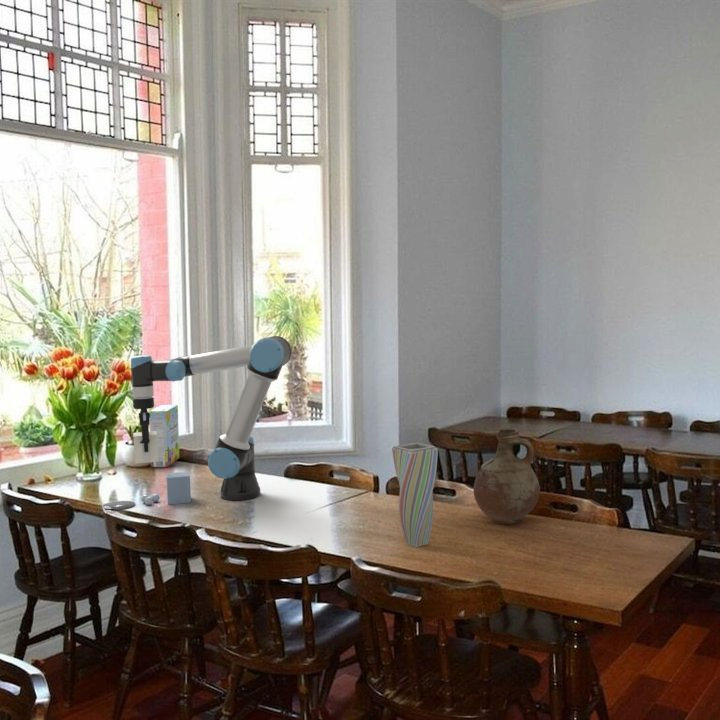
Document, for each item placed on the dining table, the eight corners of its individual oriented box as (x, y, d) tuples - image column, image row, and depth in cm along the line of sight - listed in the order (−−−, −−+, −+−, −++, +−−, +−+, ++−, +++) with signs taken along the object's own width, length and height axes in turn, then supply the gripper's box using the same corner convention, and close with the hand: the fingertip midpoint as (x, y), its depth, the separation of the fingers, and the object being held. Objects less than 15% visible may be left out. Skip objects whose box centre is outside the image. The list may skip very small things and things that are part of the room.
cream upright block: (157, 457, 324) (156, 431, 323) (158, 461, 315) (157, 434, 315) (134, 459, 321) (133, 432, 321) (134, 463, 313) (133, 436, 312)
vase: (414, 553, 252) (411, 452, 249) (385, 543, 263) (383, 446, 260) (448, 544, 260) (446, 446, 257) (419, 534, 271) (417, 440, 268)
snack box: (169, 467, 383) (167, 410, 381) (150, 468, 383) (147, 411, 381) (181, 457, 405) (178, 403, 402) (162, 458, 405) (159, 404, 402)
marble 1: (149, 504, 322) (152, 497, 322) (144, 504, 319) (147, 497, 319) (143, 500, 323) (146, 493, 323) (138, 500, 320) (141, 493, 320)
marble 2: (154, 504, 319) (154, 496, 319) (149, 506, 316) (149, 498, 316) (148, 503, 320) (148, 495, 320) (143, 505, 318) (142, 497, 317)
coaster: (141, 503, 320) (141, 502, 320) (120, 511, 310) (120, 509, 310) (118, 501, 325) (118, 499, 325) (97, 508, 315) (97, 507, 315)
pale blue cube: (189, 497, 328) (188, 471, 327) (191, 502, 320) (189, 476, 319) (167, 499, 326) (165, 473, 325) (167, 504, 318) (166, 478, 317)
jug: (475, 511, 296) (473, 425, 294) (539, 512, 292) (538, 425, 290) (472, 528, 275) (471, 436, 272) (541, 530, 271) (540, 436, 269)
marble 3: (159, 503, 323) (162, 496, 323) (154, 503, 320) (157, 496, 320) (153, 499, 324) (156, 492, 324) (148, 499, 321) (151, 492, 321)
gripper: (132, 394, 326) (136, 453, 328) (132, 401, 305) (136, 464, 307) (153, 393, 328) (156, 452, 330) (154, 400, 307) (157, 462, 309)
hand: (146, 458), depth 318 cm, fingers closed on cream upright block, 8 cm apart
